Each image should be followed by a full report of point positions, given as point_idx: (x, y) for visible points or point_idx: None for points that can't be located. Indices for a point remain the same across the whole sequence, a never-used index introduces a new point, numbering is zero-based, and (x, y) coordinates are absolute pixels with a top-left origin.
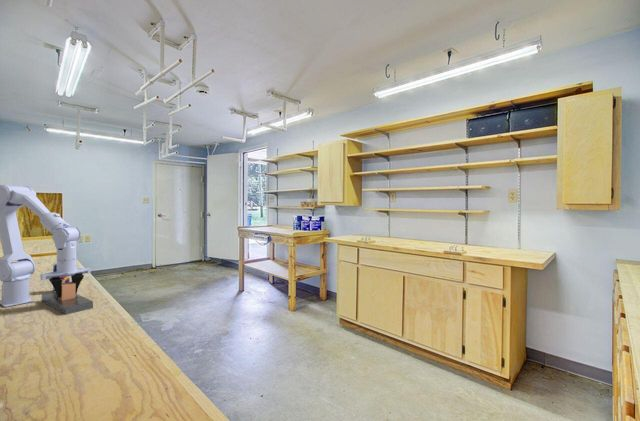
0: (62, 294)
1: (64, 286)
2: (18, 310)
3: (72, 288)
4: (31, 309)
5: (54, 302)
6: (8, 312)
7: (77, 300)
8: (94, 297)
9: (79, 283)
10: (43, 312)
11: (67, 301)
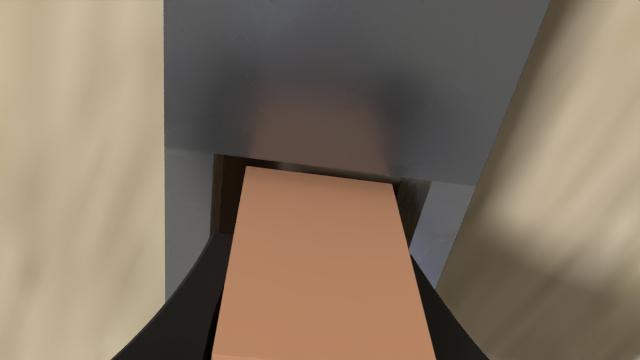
0: (405, 251)
1: (400, 350)
2: (576, 342)
3: (271, 288)
4: (530, 298)
5: (456, 217)
6: (631, 349)
7: (304, 6)
8: (7, 203)
9: (136, 343)
10: (574, 132)
11: (402, 87)
